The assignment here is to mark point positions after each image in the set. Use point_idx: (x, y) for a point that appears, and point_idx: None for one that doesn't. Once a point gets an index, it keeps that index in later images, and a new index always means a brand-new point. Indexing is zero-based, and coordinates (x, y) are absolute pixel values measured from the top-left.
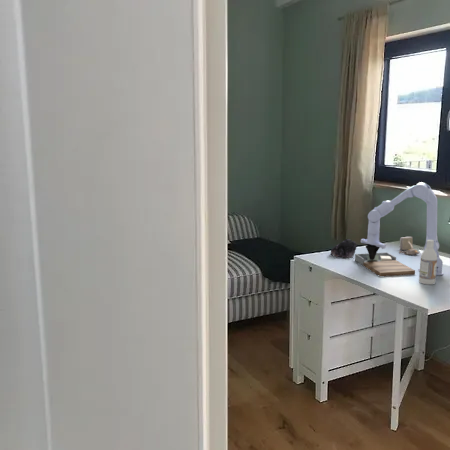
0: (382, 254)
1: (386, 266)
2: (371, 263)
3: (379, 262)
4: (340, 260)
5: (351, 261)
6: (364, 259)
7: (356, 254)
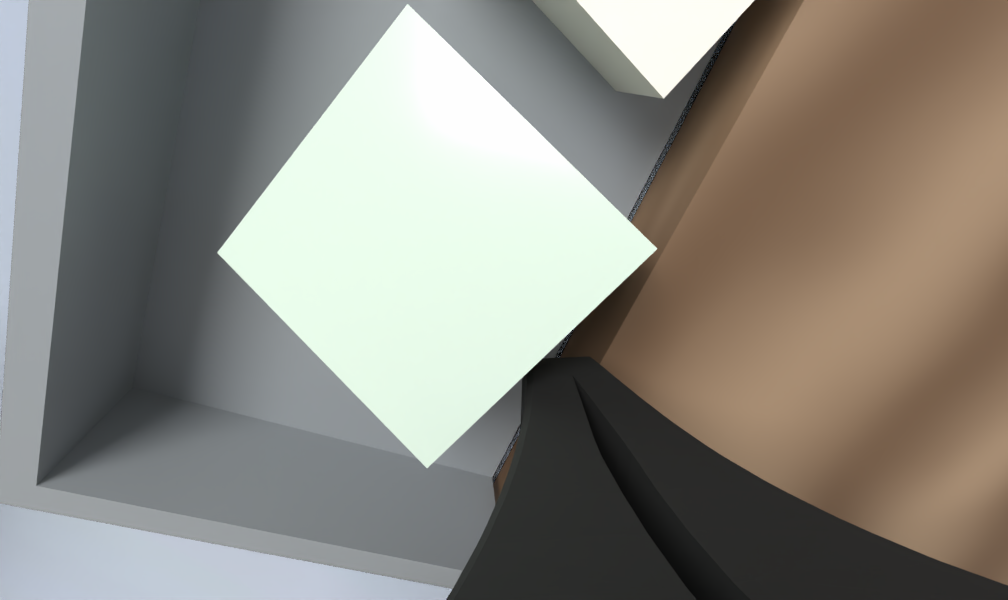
0: None
1: (963, 401)
2: None
3: (729, 316)
4: (16, 581)
5: None
6: None
7: (51, 502)
